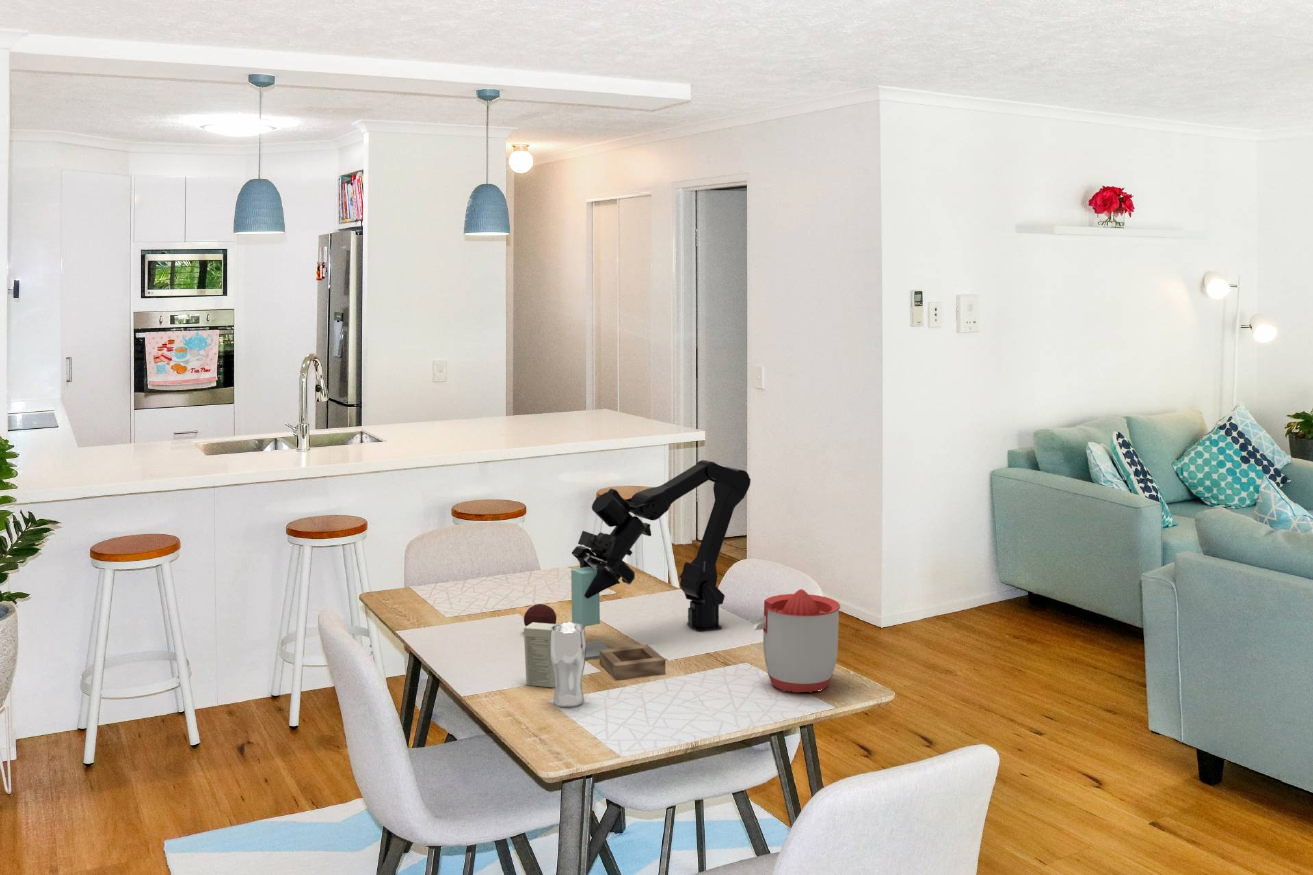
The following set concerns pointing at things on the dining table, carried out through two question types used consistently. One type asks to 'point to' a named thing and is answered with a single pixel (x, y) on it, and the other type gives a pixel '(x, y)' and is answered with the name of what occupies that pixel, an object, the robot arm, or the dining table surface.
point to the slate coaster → (594, 649)
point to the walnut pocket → (632, 662)
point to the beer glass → (568, 663)
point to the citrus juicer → (800, 640)
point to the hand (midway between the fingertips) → (580, 594)
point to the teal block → (582, 607)
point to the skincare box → (538, 655)
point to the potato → (540, 615)
